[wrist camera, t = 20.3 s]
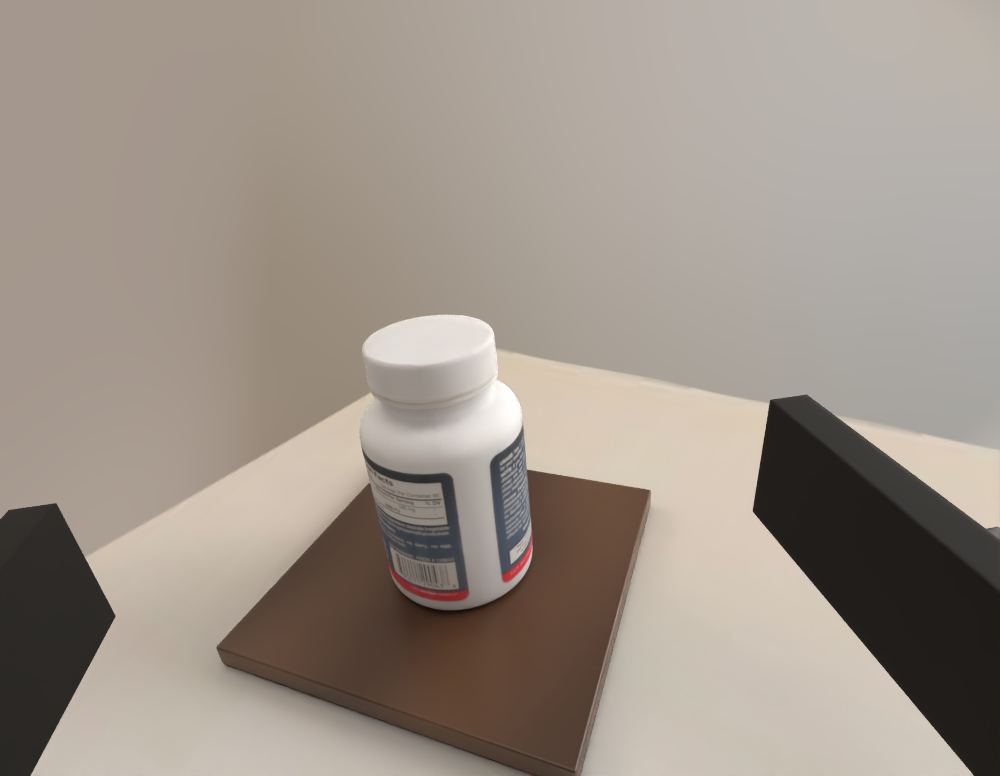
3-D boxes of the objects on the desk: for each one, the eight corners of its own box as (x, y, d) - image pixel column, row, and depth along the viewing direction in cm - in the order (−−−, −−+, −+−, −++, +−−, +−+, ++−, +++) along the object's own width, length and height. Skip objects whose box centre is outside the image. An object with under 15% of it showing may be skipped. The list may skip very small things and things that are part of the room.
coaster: (222, 663, 20) (215, 647, 19) (403, 461, 29) (400, 448, 29) (576, 791, 15) (576, 772, 15) (650, 504, 25) (651, 489, 25)
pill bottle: (498, 497, 25) (479, 295, 21) (558, 580, 21) (549, 345, 16) (374, 539, 23) (327, 328, 19) (412, 639, 19) (361, 393, 15)
